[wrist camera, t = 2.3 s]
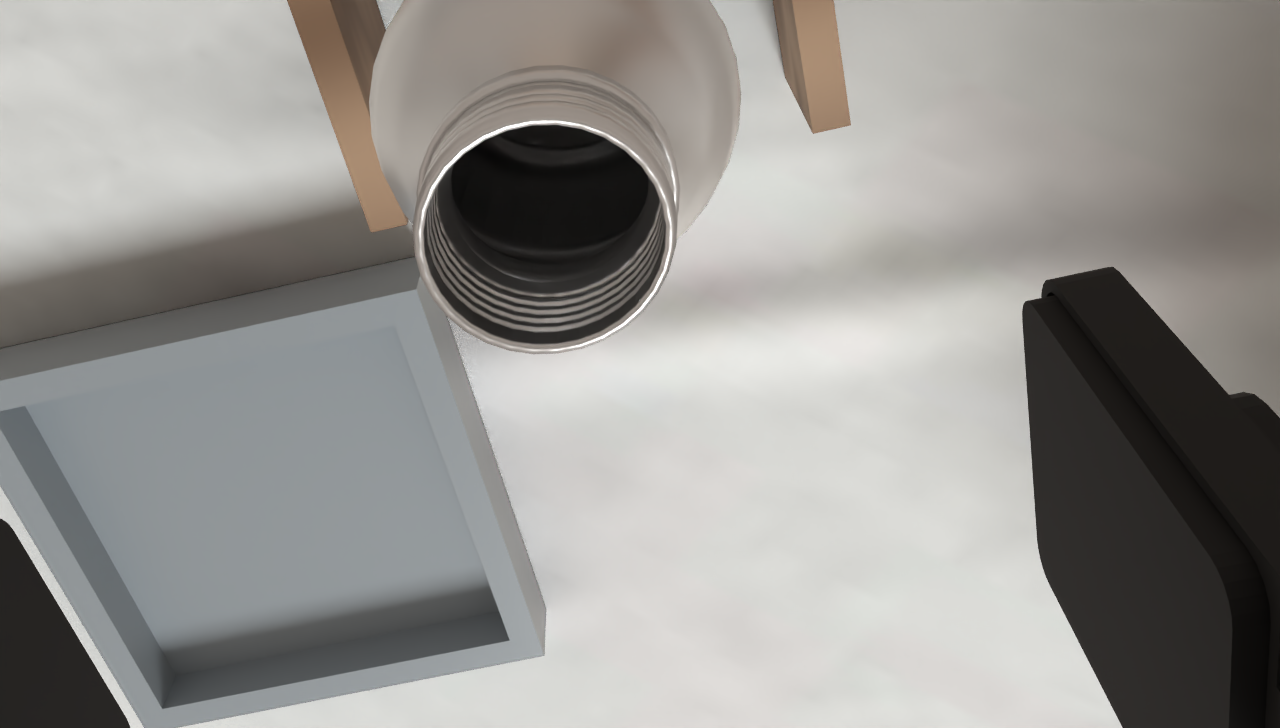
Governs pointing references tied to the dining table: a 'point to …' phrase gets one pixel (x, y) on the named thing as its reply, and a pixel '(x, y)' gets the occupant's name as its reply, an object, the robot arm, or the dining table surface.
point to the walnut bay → (353, 32)
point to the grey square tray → (270, 497)
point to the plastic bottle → (552, 154)
